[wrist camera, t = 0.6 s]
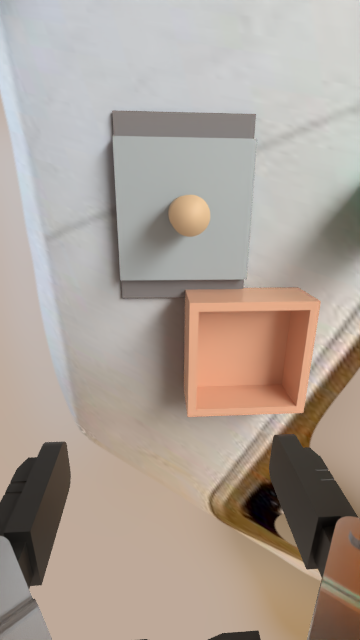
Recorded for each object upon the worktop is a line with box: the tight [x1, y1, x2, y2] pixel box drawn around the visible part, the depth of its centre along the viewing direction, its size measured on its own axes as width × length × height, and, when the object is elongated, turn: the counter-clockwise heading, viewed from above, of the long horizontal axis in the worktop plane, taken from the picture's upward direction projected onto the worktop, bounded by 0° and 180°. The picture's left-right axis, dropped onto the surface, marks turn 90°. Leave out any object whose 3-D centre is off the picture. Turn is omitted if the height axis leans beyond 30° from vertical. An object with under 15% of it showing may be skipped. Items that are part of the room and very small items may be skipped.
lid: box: [112, 136, 257, 280], centre depth 28 cm, size 12×12×6 cm
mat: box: [112, 111, 256, 298], centre depth 31 cm, size 16×12×1 cm
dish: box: [184, 287, 321, 417], centre depth 33 cm, size 12×12×5 cm
